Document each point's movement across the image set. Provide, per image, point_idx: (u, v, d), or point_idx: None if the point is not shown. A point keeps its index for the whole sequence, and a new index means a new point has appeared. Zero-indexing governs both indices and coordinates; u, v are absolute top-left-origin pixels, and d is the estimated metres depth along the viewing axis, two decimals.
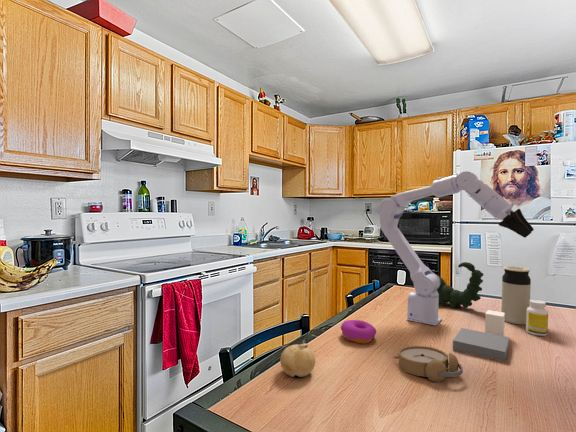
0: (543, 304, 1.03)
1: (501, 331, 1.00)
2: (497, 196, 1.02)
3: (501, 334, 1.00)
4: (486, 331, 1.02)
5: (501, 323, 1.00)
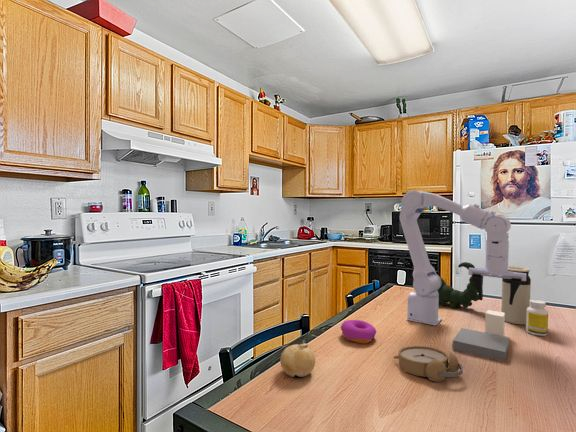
0: (543, 304, 1.03)
1: (501, 331, 1.00)
2: (489, 258, 1.01)
3: (501, 334, 1.00)
4: (486, 331, 1.02)
5: (501, 323, 1.00)
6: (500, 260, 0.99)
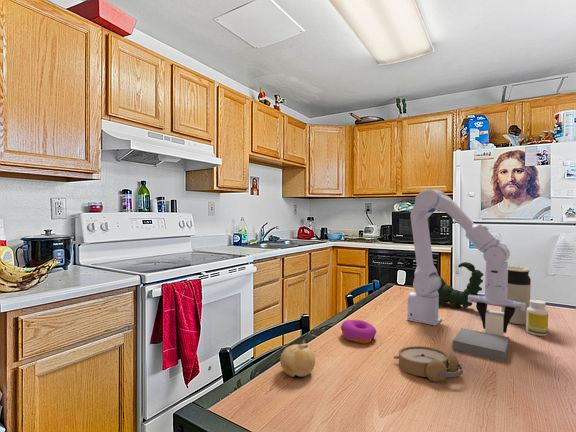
0: (543, 304, 1.03)
1: (501, 331, 1.00)
2: (489, 286, 1.01)
3: (501, 334, 1.00)
4: (486, 331, 1.02)
5: (501, 323, 1.00)
6: (499, 289, 0.99)
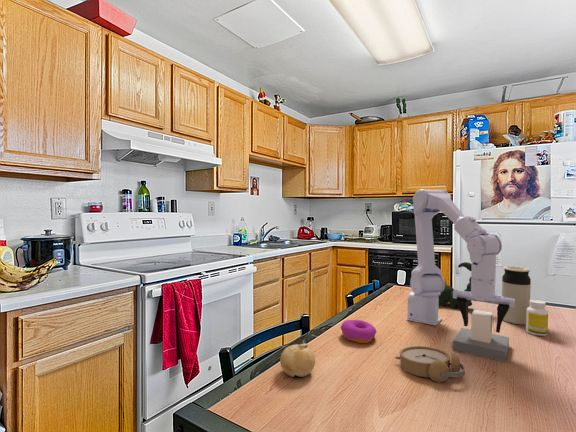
0: (543, 304, 1.03)
1: (488, 333, 0.91)
2: (475, 281, 0.93)
3: (488, 336, 0.91)
4: (472, 333, 0.93)
5: (488, 324, 0.91)
6: (486, 284, 0.91)
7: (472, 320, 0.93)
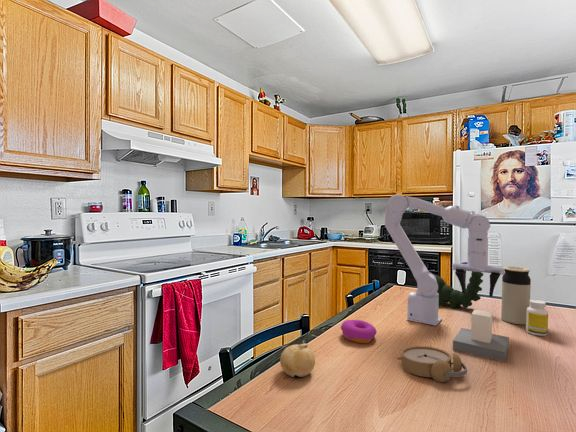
0: (543, 304, 1.03)
1: (488, 333, 0.91)
2: (471, 254, 1.09)
3: (488, 336, 0.91)
4: (472, 333, 0.93)
5: (488, 324, 0.91)
6: (480, 256, 1.07)
7: (472, 320, 0.93)
